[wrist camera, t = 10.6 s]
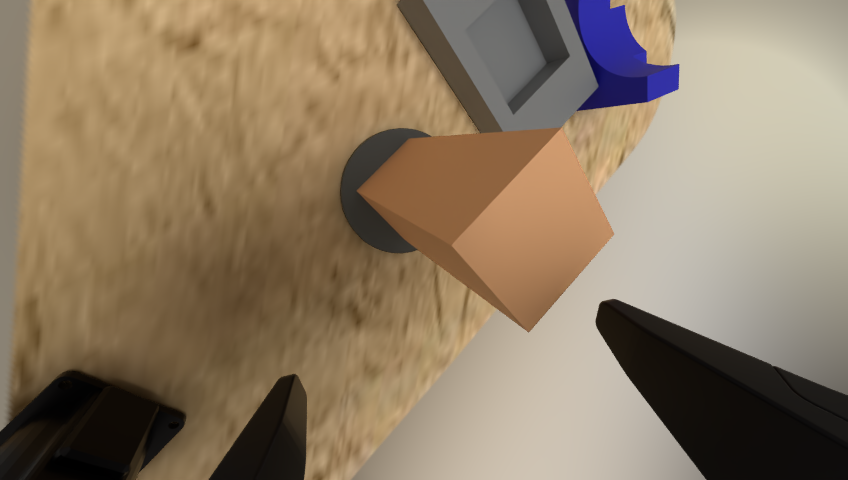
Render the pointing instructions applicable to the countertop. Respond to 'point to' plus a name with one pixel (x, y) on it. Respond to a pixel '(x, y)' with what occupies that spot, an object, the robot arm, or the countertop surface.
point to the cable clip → (617, 57)
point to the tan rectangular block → (495, 213)
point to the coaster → (358, 173)
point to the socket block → (506, 59)
